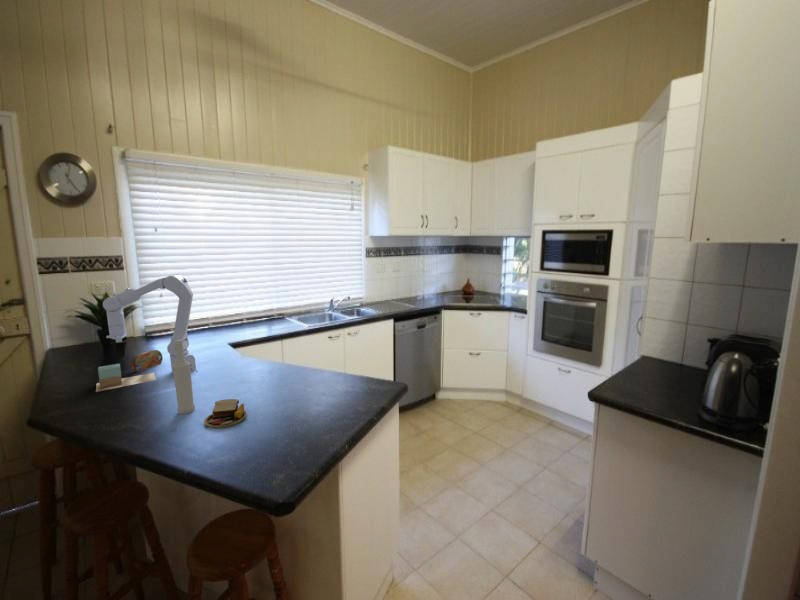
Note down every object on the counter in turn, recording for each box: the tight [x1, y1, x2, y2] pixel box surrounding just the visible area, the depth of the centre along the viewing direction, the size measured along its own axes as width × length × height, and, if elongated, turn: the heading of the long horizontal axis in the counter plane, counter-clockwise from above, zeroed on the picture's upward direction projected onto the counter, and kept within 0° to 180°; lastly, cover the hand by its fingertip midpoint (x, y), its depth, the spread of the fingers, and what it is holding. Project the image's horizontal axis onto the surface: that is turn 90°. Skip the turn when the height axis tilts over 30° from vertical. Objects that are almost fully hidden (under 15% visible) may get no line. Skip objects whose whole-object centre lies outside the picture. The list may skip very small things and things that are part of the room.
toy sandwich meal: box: [203, 398, 247, 429], centre depth 122 cm, size 12×14×5 cm
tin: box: [130, 349, 163, 373], centre depth 175 cm, size 15×3×8 cm, turn 168°
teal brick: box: [97, 363, 122, 381], centre depth 154 cm, size 5×7×4 cm
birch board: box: [95, 372, 157, 393], centre depth 157 cm, size 20×12×1 cm, turn 127°
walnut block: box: [98, 375, 123, 389], centre depth 154 cm, size 7×7×4 cm
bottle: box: [172, 340, 196, 415], centre depth 128 cm, size 5×5×25 cm
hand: (121, 355), depth 162 cm, fingers open, 7 cm apart
